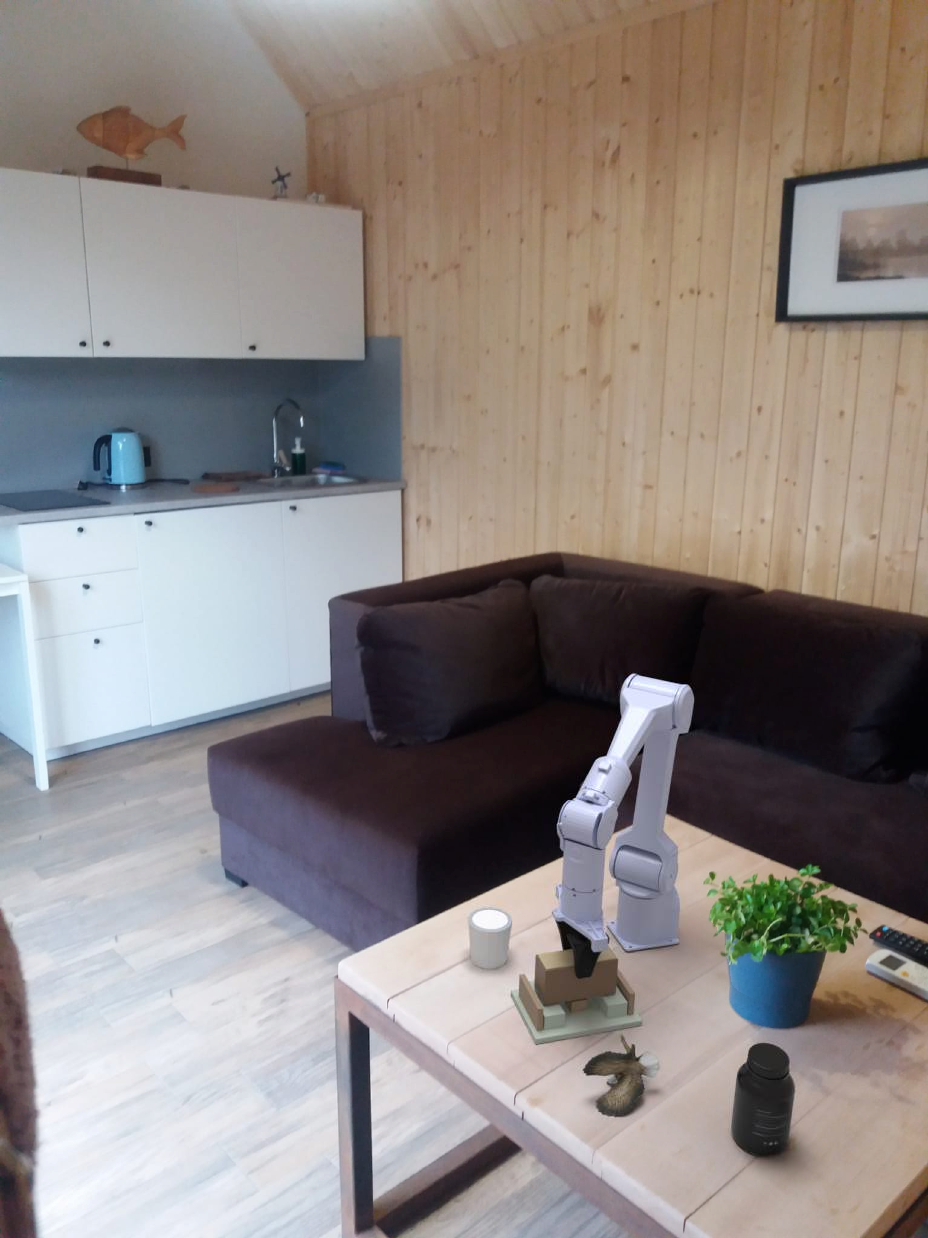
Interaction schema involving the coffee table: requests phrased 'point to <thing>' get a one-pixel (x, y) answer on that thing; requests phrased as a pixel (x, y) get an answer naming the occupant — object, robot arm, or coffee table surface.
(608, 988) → the tan rectangular box
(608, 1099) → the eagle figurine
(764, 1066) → the supplement bottle
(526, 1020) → the display cradle
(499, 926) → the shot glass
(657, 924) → the robot arm
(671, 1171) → the coffee table surface
